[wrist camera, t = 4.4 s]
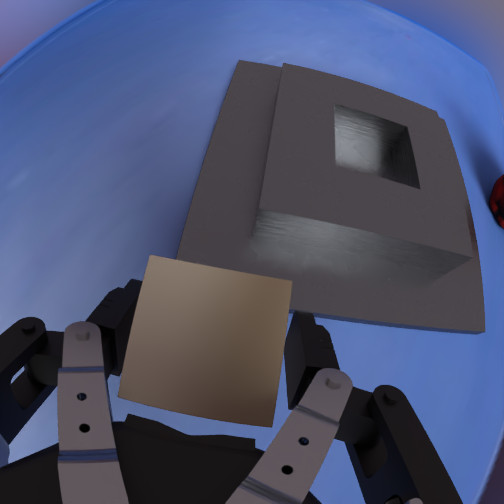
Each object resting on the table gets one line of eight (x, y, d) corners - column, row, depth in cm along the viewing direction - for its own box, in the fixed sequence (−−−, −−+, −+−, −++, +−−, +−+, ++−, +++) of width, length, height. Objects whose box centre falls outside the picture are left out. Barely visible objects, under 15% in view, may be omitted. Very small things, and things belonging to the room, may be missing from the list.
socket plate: (171, 291, 18) (160, 268, 14) (238, 68, 26) (241, 34, 23) (476, 334, 19) (513, 322, 15) (439, 125, 27) (457, 101, 24)
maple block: (169, 387, 16) (117, 396, 7) (183, 319, 17) (150, 254, 8) (242, 401, 16) (272, 427, 7) (253, 331, 17) (292, 280, 9)
